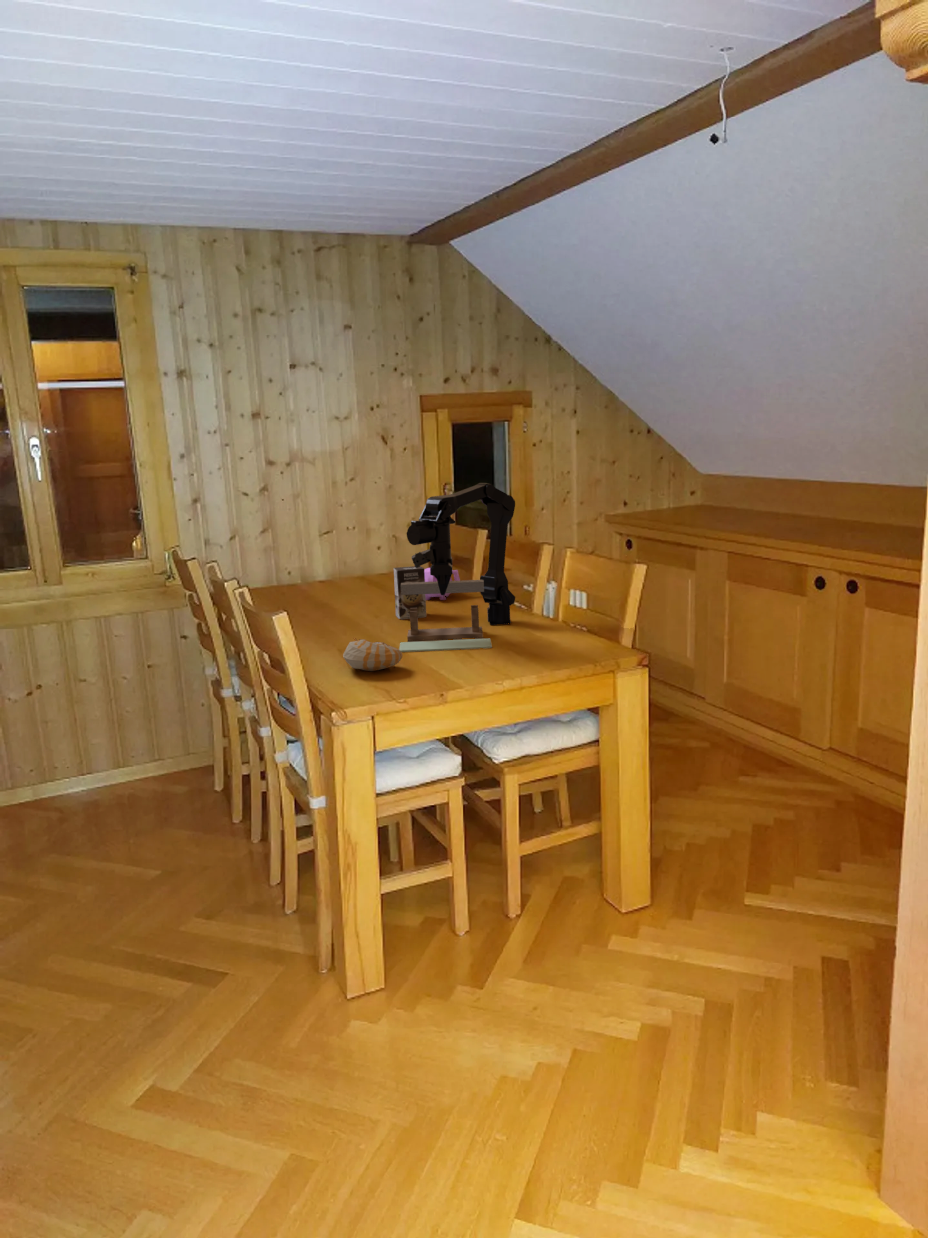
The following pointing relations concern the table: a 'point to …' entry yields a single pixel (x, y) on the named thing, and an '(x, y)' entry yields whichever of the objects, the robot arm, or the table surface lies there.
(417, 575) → the cookie box
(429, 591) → the hang rail
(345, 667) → the table surface
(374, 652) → the nautilus
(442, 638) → the hook stand
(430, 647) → the rubber mat
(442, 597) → the pink piggy bank
